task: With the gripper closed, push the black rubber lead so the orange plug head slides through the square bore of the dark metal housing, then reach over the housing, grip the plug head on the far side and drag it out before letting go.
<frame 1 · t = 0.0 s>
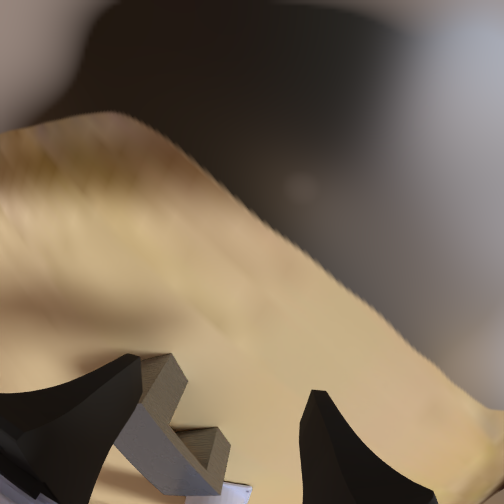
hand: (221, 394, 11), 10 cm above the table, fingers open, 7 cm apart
housing: (176, 410, 24), on the table
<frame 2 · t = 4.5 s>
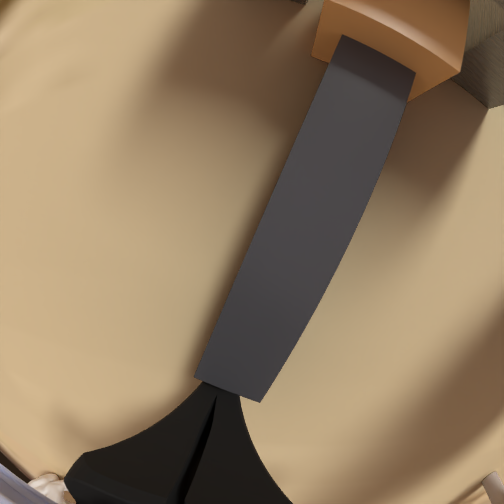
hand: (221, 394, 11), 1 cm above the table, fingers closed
white lumpy piece: (86, 495, 19), on the table
plug: (374, 41, 8), on the table, touching gripper
toy jack: (488, 476, 14), on the table
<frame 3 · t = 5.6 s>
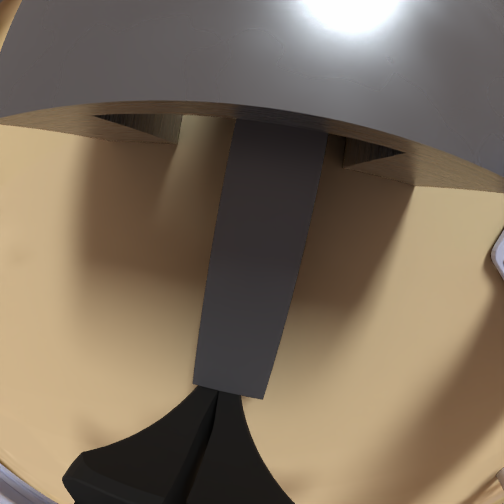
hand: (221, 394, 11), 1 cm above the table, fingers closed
plug: (305, 18, 8), on the table, touching gripper
housing: (270, 75, 9), on the table
toy jack: (502, 469, 14), on the table
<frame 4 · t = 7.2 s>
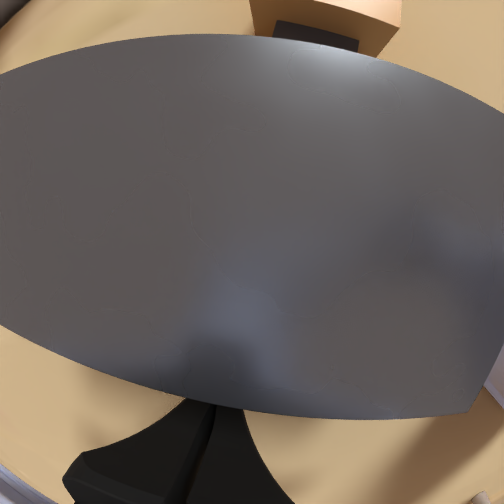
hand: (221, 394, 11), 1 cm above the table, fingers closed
plug: (319, 21, 8), on the table, touching gripper
housing: (250, 204, 10), on the table
toy jack: (478, 494, 15), on the table
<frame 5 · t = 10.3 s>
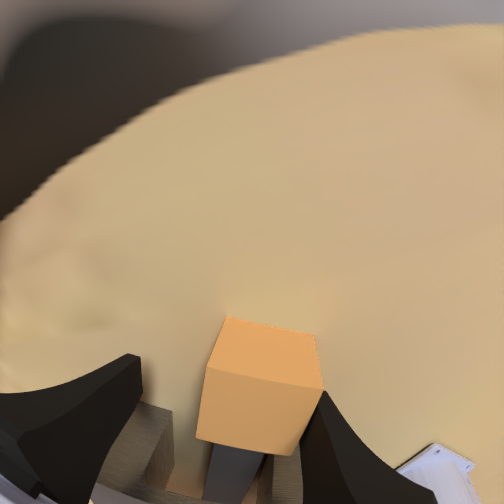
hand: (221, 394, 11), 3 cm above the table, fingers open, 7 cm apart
plug: (260, 361, 13), on the table
housing: (219, 451, 15), on the table
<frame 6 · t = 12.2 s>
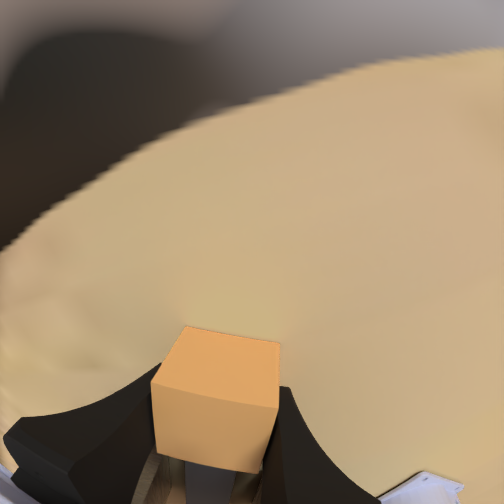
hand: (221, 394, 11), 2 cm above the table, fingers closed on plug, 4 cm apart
plug: (227, 372, 12), on the table, touching gripper
housing: (213, 479, 15), on the table
when the fingers open (2 cm above the table, at t = 13.1 s): plug stays where it is, on the table.
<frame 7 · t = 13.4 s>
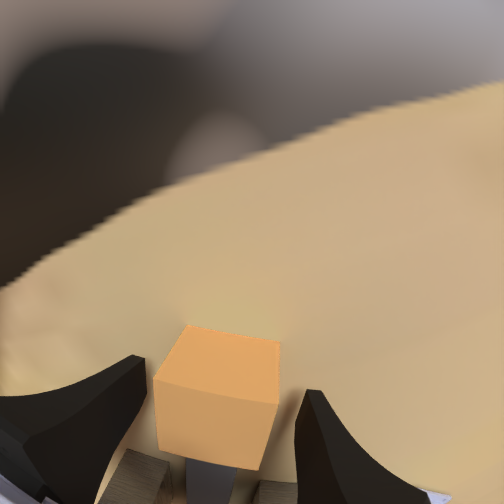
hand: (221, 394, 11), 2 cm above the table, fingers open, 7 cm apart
plug: (227, 370, 13), on the table
housing: (211, 491, 15), on the table
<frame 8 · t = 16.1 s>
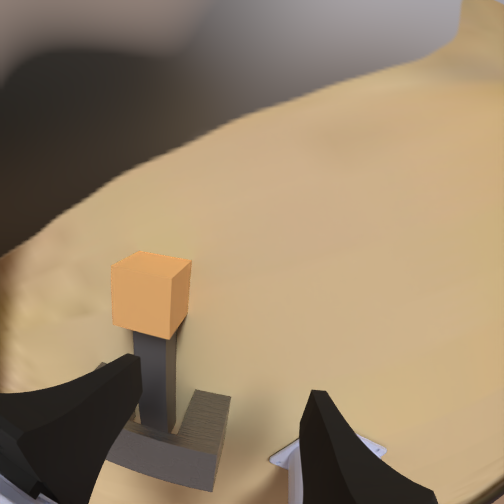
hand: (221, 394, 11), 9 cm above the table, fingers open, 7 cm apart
plug: (163, 282, 20), on the table
housing: (162, 404, 23), on the table
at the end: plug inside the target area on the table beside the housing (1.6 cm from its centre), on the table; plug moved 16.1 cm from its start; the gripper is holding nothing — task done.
